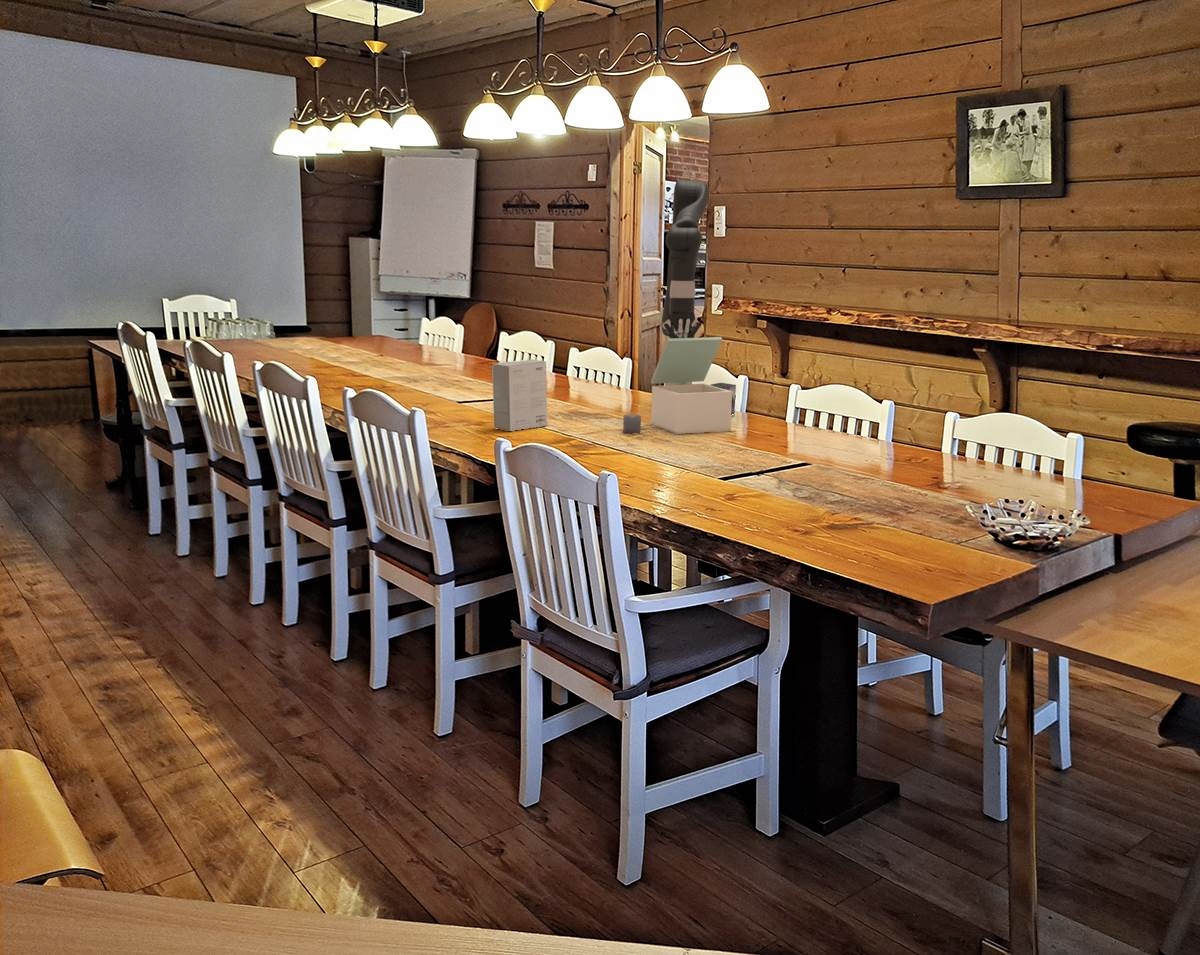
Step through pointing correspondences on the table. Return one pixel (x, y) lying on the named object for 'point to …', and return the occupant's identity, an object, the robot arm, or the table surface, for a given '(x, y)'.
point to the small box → (730, 388)
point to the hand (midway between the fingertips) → (680, 353)
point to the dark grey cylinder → (631, 423)
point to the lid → (686, 360)
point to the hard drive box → (519, 394)
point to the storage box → (691, 408)
